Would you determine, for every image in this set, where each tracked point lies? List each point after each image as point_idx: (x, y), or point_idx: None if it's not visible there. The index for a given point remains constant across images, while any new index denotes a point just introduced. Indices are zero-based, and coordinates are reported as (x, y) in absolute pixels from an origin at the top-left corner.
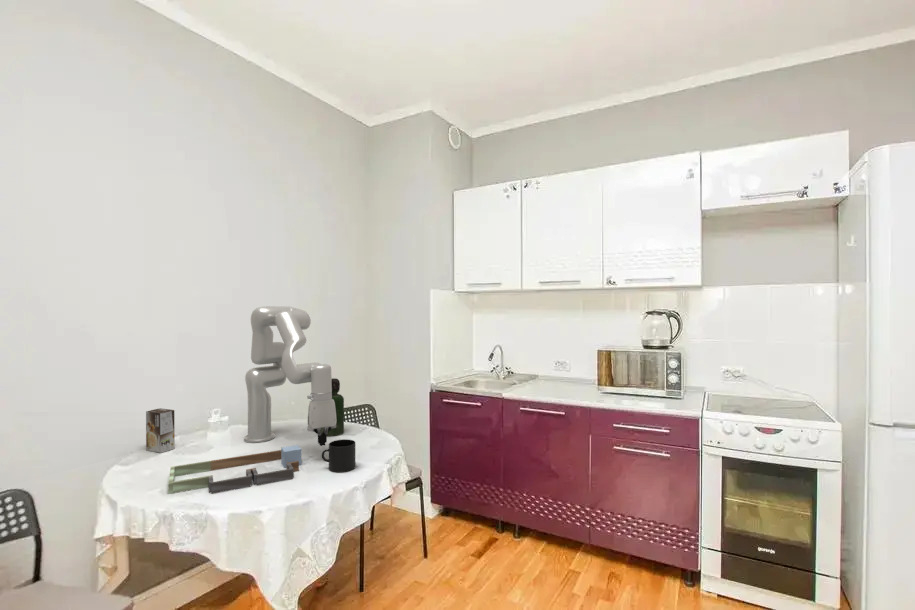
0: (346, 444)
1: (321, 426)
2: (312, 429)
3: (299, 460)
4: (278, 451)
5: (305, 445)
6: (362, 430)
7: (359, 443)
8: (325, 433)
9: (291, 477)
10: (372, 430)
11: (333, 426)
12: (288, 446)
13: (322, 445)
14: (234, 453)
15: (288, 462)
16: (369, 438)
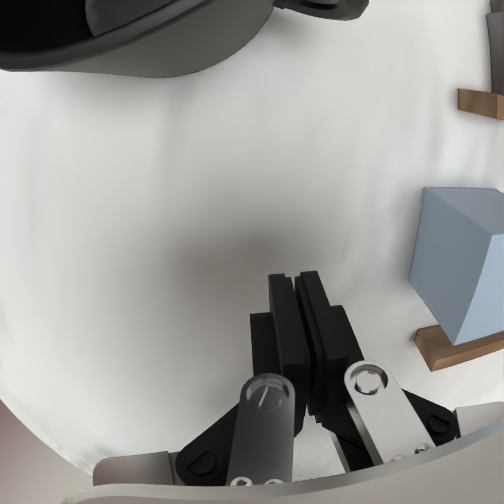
0: (28, 49)
1: (423, 481)
2: (471, 432)
3: (452, 198)
4: (481, 346)
5: (297, 436)
6: (84, 459)
7: (62, 383)
8: (277, 391)
9: (498, 1)
10: (54, 446)
11: (135, 480)
12: (500, 329)
13: (301, 273)
14: (491, 397)
15: (498, 199)
16: (39, 405)
